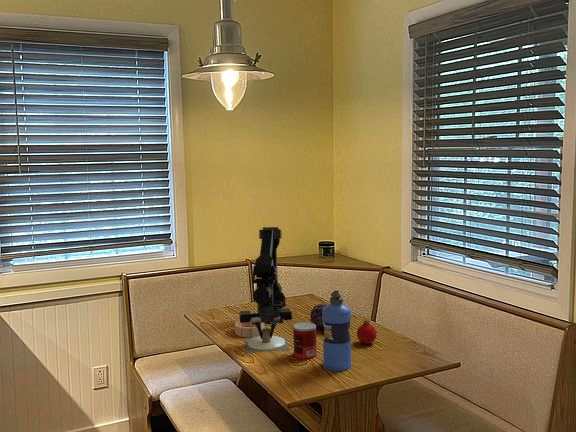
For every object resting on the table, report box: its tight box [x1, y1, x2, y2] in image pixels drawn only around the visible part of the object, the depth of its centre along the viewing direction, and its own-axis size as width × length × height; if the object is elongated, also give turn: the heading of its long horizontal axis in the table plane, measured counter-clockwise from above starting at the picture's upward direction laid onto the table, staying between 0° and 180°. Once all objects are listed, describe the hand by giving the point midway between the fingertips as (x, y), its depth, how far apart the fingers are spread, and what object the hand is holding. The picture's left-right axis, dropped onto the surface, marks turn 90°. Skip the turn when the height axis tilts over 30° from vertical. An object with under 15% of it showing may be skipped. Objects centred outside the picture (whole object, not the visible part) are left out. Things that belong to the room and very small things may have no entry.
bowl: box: [234, 320, 266, 338], centre depth 227 cm, size 11×12×4 cm
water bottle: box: [322, 290, 352, 372], centre depth 192 cm, size 9×9×25 cm
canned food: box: [292, 321, 317, 361], centre depth 201 cm, size 8×8×11 cm
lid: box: [248, 327, 285, 350], centre depth 214 cm, size 14×14×5 cm
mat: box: [244, 335, 291, 354], centre depth 214 cm, size 15×15×1 cm
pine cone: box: [309, 303, 330, 329], centre depth 230 cm, size 18×10×10 cm, turn 18°
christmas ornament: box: [356, 316, 378, 345], centre depth 213 cm, size 7×7×10 cm
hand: (266, 338), depth 214 cm, fingers closed on lid, 3 cm apart
